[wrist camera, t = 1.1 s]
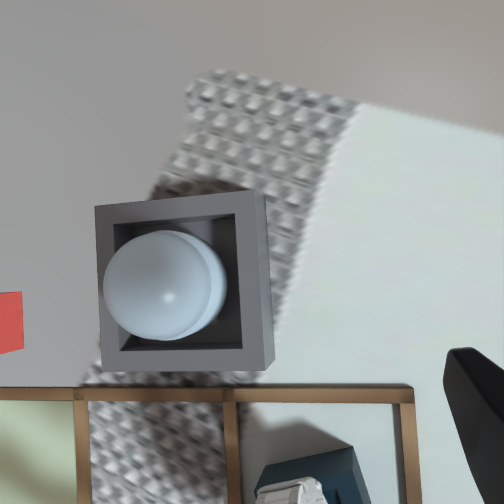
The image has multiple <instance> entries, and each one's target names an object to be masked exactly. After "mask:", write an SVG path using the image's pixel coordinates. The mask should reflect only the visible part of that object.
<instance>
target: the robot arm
mask: <svg viewBox="0 0 504 504" xmlns="http://www.w3.org/2000/svg"><path fill="white" fill-rule="evenodd" d="M443 386H444V391H445V394H446V397H447V400H448V403H449V406H450V410H451V413H452V416H453V419H454V422H455V425H456V428H457V431H458V434H459V438H460V441H461V444H462V447H463V450H464V453H465V456H466V459H467V462H468V465H469V468H470V471H471V473H472V475H473V478H474V480H475V483H476V485H477V487H478V490H479V492H480V494H481V496H482V499H483V501H484V503H485V504H504V370H503V369H502V368H500V367H499V366H498V365H496V364H495V363H494V362H492V361H491V360H490V359H488V358H487V357H486V356H484V355H483V354H482V353H480V352H479V351H477V350H476V349H474V348H472V347H464V348H453V349H450V350H449V351H448V354H447V358H446V364H445V370H444V375H443Z"/></svg>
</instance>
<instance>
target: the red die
mask: <svg viewBox="0 0 504 504" xmlns="http://www.w3.org/2000/svg"><path fill="white" fill-rule="evenodd" d="M23 348H24V334H23V309H22V292H7V293H0V354H3V353H7V352H11V351H15V350H19V349H23Z"/></svg>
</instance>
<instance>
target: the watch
mask: <svg viewBox="0 0 504 504" xmlns="http://www.w3.org/2000/svg"><path fill="white" fill-rule="evenodd" d="M254 493H255V497H256V502H255V504H371V501H370V498H369V494H368V491H367V488H366V485H365V482H364V479H363V476H362V473H361V470H360V466H359V463H358V460H357V457H356V454H355V451H354V448H353V447H349V448H344V449H340V450H335V451H331V452H326V453H322V454H317V455H313V456H308V457H304V458H300V459H295V460H291V461H286V462H282V463H277V464H273V465H268V466H265V468H264V470H263V473H262V475H261V477H260V479H259V481H258V484H257V486H256V488H255V490H254Z"/></svg>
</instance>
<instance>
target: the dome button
mask: <svg viewBox="0 0 504 504" xmlns="http://www.w3.org/2000/svg"><path fill="white" fill-rule="evenodd" d="M227 288H228V280H227V273H226V269H225V266H224V263H223V261H222V259H221V257H220V255H219V254H218V253H217V251H216V250H215V249H214V248H213V247H212V246H211V245H210V244H209V243H208V242H206V241H205V240H203V239H202V238H200V237H197V236H195V235H192V234H188V233H182V232H176V231H169V230H161V231H155V232H152V233H149V234H146V235H142V236H139V237H137V238H134V239H132V240H131V241H129V242H127V243H126V244H125V245H123V246H122V247H121V248H120V249H119V250H118V251H117V252H116V253H115V254H114V256H113V257H112V259H111V260H110V262H109V264H108V266H107V269H106V271H105V275H104V281H103V293H104V299H105V303H106V306H107V308H108V310H109V312H110V314H111V315H112V317H113V318H114V320H115V321H116V322H117V323H118V324H119V325H120V326H121V327H122V328H123V329H125V330H126V331H128V332H130V333H131V334H133V335H136V336H138V337H141V338H146V339H154V340H165V341H168V340H176V339H180V338H183V337H185V336H188V335H190V334H192V333H195V332H197V331H200V330H201V329H203V328H205V327H206V326H208V325H209V324H210V323H211V322H212V321H213V320H214V319H215V318H216V317H217V315H218V314H219V313H220V311H221V309H222V307H223V305H224V302H225V299H226V295H227Z"/></svg>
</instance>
